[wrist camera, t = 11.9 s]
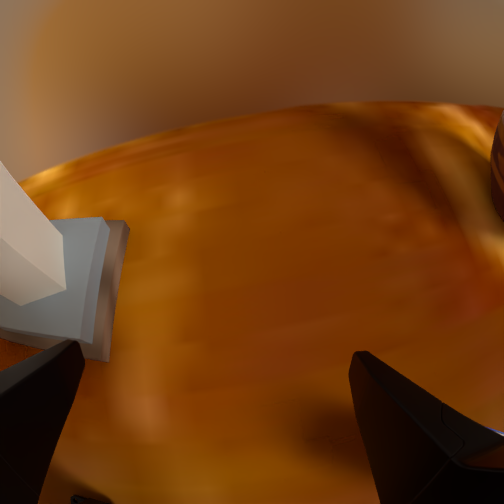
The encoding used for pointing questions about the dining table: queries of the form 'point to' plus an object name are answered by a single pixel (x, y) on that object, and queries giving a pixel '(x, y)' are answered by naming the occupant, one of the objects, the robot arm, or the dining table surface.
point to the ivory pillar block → (27, 247)
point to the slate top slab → (77, 287)
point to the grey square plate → (104, 302)
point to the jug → (498, 168)
